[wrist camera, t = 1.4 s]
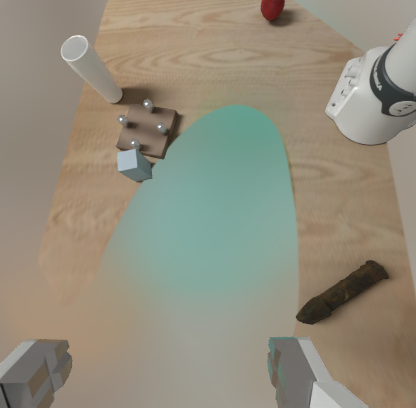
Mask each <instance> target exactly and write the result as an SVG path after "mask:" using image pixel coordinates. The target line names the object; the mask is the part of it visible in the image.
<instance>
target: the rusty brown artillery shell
mask: <svg viewBox="0 0 416 408" xmlns="http://www.w3.org/2000/svg"><path fill="white" fill-rule="evenodd" d="M388 278H389V276H388V275H387V273H386V272H385V270H384V268H383V267H382V266H380V265H379V264H377V263H376V262H375V261H373V260H369V261H366V264H365V265H362V266H360V269H358V270H356V271H355V272H353V273H351V274H350V275H349V276H348V277H346V278H345V279H343V280H341V281H340V282H338V283H337V284H336V285H334V286H333V287H331V288H330V289H328V290H327V291H325V292H324V293H322V294H321V295H319V296H317V297H314V298H312V299H311V300H310V301H309V302H307V303H306V305H305V306H304V307H303V308H302V309H301V310H300V311H299V313H298V314H297V316H296V319H297V320H298V321H300V322H302V323H306V324H311V325H313V324H314V323H316V322H319V321H320V320H322V319H325V318H327V317H329V316H330V315H331V312H332V311H333V310H335V309H336V308H337V307H339V306H340V305H342V304H344V303H345V302H347V301H349V300H350V299H352V298H354V297H355V296H357V295H358V294H360V293H361V292H363V291H364V290H366V289H368V288H369V287H371V286H372V285H373V284H375V283H376V282H378V281H380V280H382V279H388Z"/></svg>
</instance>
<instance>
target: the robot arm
mask: <svg viewBox="0 0 416 408" xmlns="http://www.w3.org/2000/svg"><path fill="white" fill-rule="evenodd" d="M397 35H399V36H401V37H398V38H394V40H395V41H397V43H395V44H394V45H392V46H382V47H376V48H373V49H371V50H369V51H368V52H366V53H365V55H364V56H363V57H358V58H354V59H351V60H349V61H348V62H347V64H346V65H345V67H344V69H343V72H342V74H341V76H340V78H339V80H338V83H337V85H336V87H335V89H334V91H333V94H332V96H331V98H330V100H329V102H328V105H327V107H326V109H325V113H326V114H327V115H328V116H329V117H330V118H332V119H333V120H334V121H335V123H336V125H337V126H338V128H339V130H340V131H341V132H342V133H343V134H344V135H345V136H346V137H347V138H349V139H351V140H353V141H355V142H357V143H361V144H367V145H374V144H380V143H384V142H387V141H389V140H390V139H392V138H393V137H395V136H396V135H397V134H398V133H399V132H400V131H402V130H405V129H408V128H410V127H412V126H413V125H415V124H416V17H415V19H414V20H413V22H412V23H411V24H410V26H409V27H408V28H407V30H406V31H405V32H404V34H397ZM332 105H334V106H332ZM268 345H269V348H270V352H269V353H268V370H269V375H270V379H271V383H272V385H273V386H274V387H275V388H276V401H277V405H278V408H369V407H368V406H367V405H366V404H365V403H363V402H362V401H361V400H360V399H359V398H357V397H356V396H355V395H354V394H353V393H352V392H350V391H349V390H348V389H347V388H346V387H344V386H343V385H342V384H341V383H340V382H338V381H334V380H333V379H332V377H331V375H330V373H329V372H328V370H327V368H326V366H325V364H324V363H323V361H322V359H321V357H320V356H319V354H318V352H317V350H316V348H315V347H314V345H313V343H312V341H311V340H310V338H308V337H271V338H270V339H269V344H268ZM68 348H69V344H68V341H67V340H47V339H27V340H26V341H24V342H22V343H21V344H20V345H19V346H18V347H17V348H16V349H15V350H14V351H13V352H12V353H11V354H10V355H9V356H8V357H7V358H6V359H5V360H4V361H3V362H2V363H1V364H0V408H49V407H50V406H51V404H52V402H53V401H54V395H55V392H56V391H57V390H58V389H59V388H61V387H62V386H63V385H64V383H65V382H66V380H67V378H68V376H69V374H70V371H71V368H72V357H71V355H70V354H69V353H68V352H67V350H68Z"/></svg>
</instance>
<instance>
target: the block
mask: <svg viewBox="0 0 416 408" xmlns="http://www.w3.org/2000/svg"><path fill="white" fill-rule="evenodd" d="M117 160H118V172H120V173H122V174H123V175H125V176H127V177H129V178H130V179H132V180H134V181H135V182H138V181H142V180H147V179H152V171H151V162H150V161H149V160H147V159H146V158H145V157H144V156H143V155H142V154H141V153H140V152H139V151H138V150H136V149H132V150H128V151H123V152H119V153H117Z"/></svg>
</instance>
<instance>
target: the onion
mask: <svg viewBox="0 0 416 408" xmlns="http://www.w3.org/2000/svg"><path fill="white" fill-rule="evenodd" d="M284 3H285V0H262V2H261V12H262V14H263V16H264V17H265V19H267V20H274V19H275V18H277V17H278V16H279V15H280V14H281V12H282V10H283V8H284Z"/></svg>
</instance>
